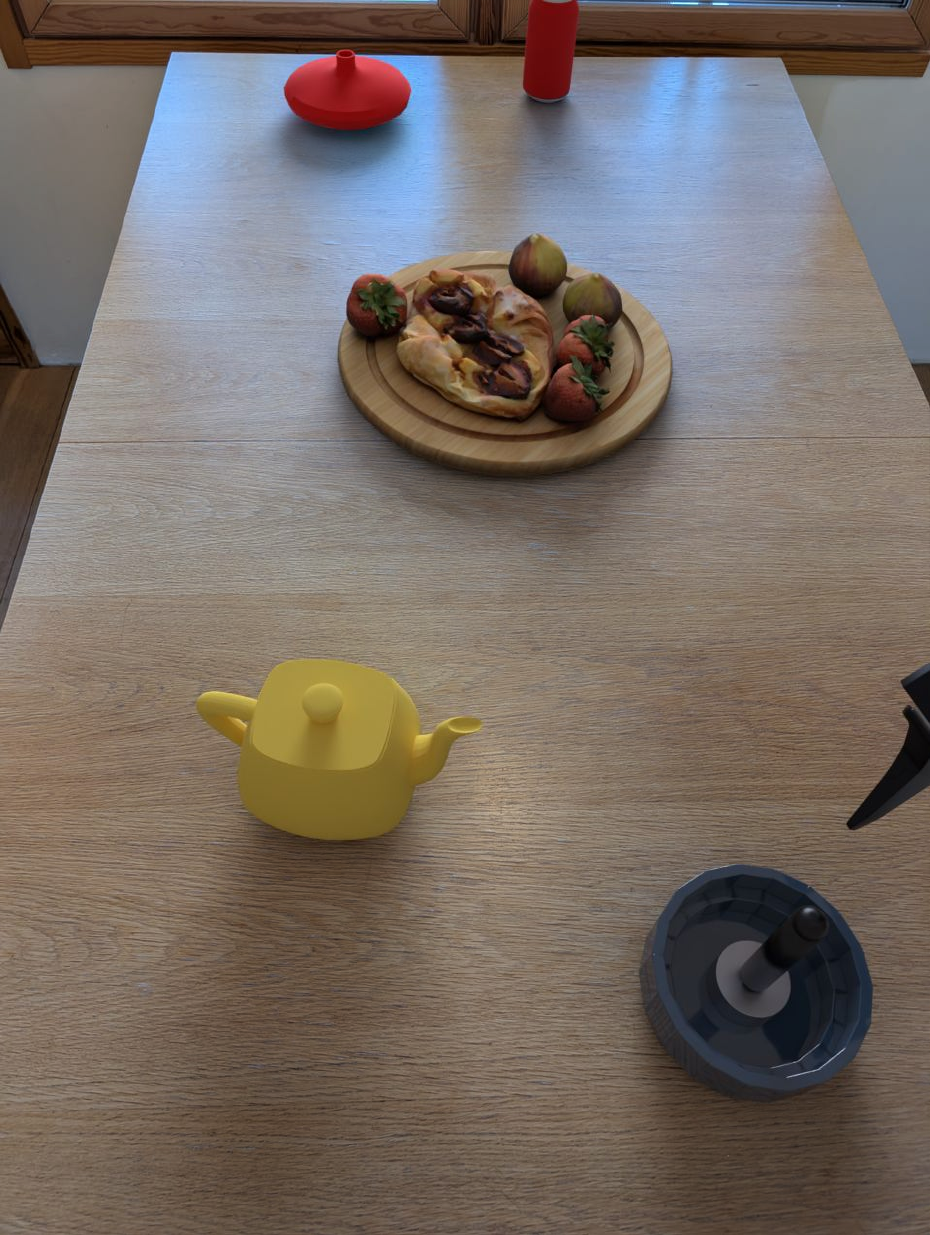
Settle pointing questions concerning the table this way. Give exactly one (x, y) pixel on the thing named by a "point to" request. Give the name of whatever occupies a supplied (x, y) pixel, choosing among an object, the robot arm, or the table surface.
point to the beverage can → (550, 48)
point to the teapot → (330, 748)
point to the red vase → (347, 92)
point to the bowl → (793, 1038)
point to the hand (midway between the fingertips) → (896, 902)
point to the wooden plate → (503, 360)
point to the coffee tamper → (763, 968)
